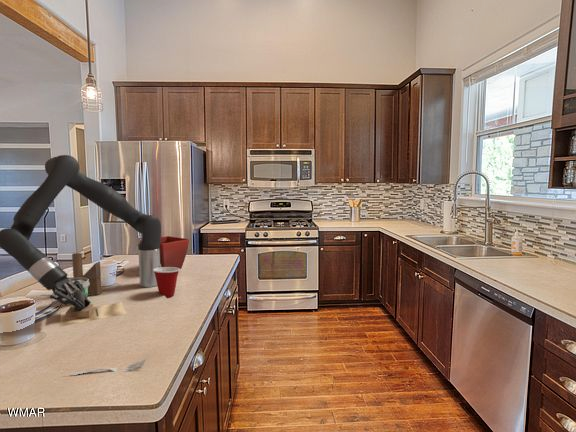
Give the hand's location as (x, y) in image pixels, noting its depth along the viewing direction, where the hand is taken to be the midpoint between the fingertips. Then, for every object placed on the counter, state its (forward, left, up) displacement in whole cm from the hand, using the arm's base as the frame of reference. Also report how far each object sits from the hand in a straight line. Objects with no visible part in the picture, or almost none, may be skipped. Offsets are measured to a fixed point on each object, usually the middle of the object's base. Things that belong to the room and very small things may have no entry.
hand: (85, 306), depth 120 cm
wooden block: (-1, -32, -5) cm, 32 cm away
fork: (-1, +40, -5) cm, 41 cm away
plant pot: (-40, -58, -5) cm, 71 cm away
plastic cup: (-30, -11, -5) cm, 33 cm away
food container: (+2, -20, -5) cm, 21 cm away
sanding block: (+2, -1, -3) cm, 4 cm away
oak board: (-2, -1, -5) cm, 5 cm away
